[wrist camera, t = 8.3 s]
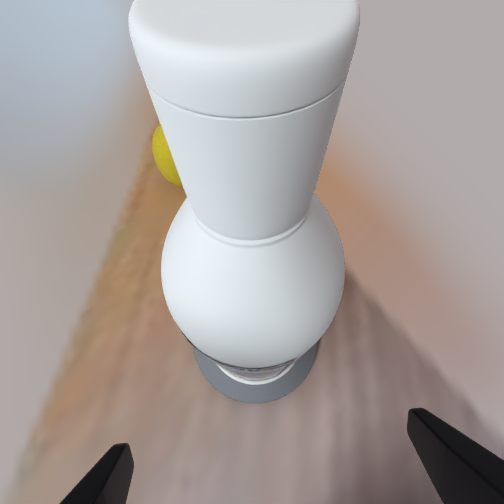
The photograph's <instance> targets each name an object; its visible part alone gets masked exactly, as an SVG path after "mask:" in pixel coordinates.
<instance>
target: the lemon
mask: <svg viewBox="0 0 504 504" xmlns="http://www.w3.org/2000/svg"><path fill="white" fill-rule="evenodd" d="M152 143H153V155H154V159H155V161H156V164H157V166H158V168H159V170H160V172H161V173H162V175H163V176H164V177H165V178H166V179H167V180H168V181H169V182H171V183H173V184H174V185H177V186H180V187H183V185H182V182H181V180H180V177H179V174H178V171H177V169H176V166H175V163H174V160H173V157H172V155H171V152H170V149H169V146H168V143H167V141H166V138H165V135H164V132H163V129H162V127H161V124H160V125H159V126H158V127H157V129H156V130H155V133H154V136H153V141H152Z"/></svg>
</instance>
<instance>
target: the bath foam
mask: <svg viewBox="0 0 504 504" xmlns="http://www.w3.org/2000/svg"><path fill="white" fill-rule="evenodd" d="M359 25H360V7H359V4H358V1H357V0H134V2H133V3H132V6H131V9H130V13H129V30H130V35H131V39H132V44H133V47H134V50H135V53H136V56H137V59H138V62H139V65H140V68H141V71H142V73H143V76H144V79H145V82H146V85H147V87H148V90H149V93H150V96H151V99H152V101H153V104H154V107H155V110H156V113H157V116H158V118H159V121H160V124H161V127H162V129H163V132H164V135H165V138H166V141H167V143H168V146H169V149H170V152H171V155H172V157H173V160H174V163H175V166H176V169H177V171H178V174H179V177H180V180H181V182H182V185H183V188H184V190H185V193H186V195H187V198H186V199H185V201H184V203H183V204H182V206H181V207H180V209H179V211H178V213H177V214H176V216H175V218H174V220H173V222H172V224H171V227H170V229H169V231H168V234H167V237H166V240H165V244H164V248H163V253H162V264H161V277H162V285H163V291H164V295H165V299H166V302H167V305H168V308H169V310H170V312H171V314H172V316H173V318H174V320H175V322H176V323H177V325H178V327H179V328H180V330H181V331H182V333H183V334H184V336H185V337H186V338H187V340H188V341H189V342H190V343H191V344H192V345H193V346H194V347H195V348H196V349H197V350H199V351H200V352H201V353H203V354H204V355H205V356H207V357H208V358H209V359H211V360H212V361H213V362H215V363H216V364H217V365H219V366H220V367H221V368H222V369H224V370H225V371H226V372H228V373H229V374H231V375H233V376H234V377H236V378H239V379H241V380H244V381H249V382H262V381H267V380H270V379H272V378H275V377H277V376H279V375H280V374H281V373H283V372H284V371H285V370H286V369H287V368H289V367H290V366H291V365H292V364H293V363H294V362H295V361H296V360H298V359H299V358H300V357H301V356H302V355H303V354H304V353H306V352H307V351H308V350H309V349H310V348H311V347H312V346H313V345H314V344H315V343H316V342H317V341H318V340H319V339H320V338H321V337H322V335H323V334H324V333H325V332H326V330H327V329H328V327H329V326H330V324H331V322H332V320H333V319H334V318H335V315H336V312H337V310H338V307H339V304H340V301H341V297H342V293H343V288H344V280H345V261H344V253H343V247H342V244H341V240H340V238H339V235H338V232H337V229H336V227H335V225H334V223H333V221H332V219H331V217H330V215H329V214H328V212H327V210H326V209H325V207H324V206H323V204H322V203H321V202H320V200H319V199H318V197H317V196H316V195H315V194H314V190H315V187H316V183H317V180H318V177H319V174H320V170H321V167H322V163H323V160H324V155H325V152H326V149H327V145H328V142H329V138H330V135H331V131H332V127H333V123H334V120H335V117H336V113H337V110H338V106H339V102H340V99H341V95H342V92H343V88H344V85H345V81H346V78H347V74H348V70H349V67H350V63H351V60H352V56H353V53H354V49H355V45H356V41H357V36H358V31H359Z"/></svg>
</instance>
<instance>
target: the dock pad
mask: <svg viewBox="0 0 504 504" xmlns="http://www.w3.org/2000/svg"><path fill="white" fill-rule="evenodd" d="M317 344H318V341H317V342H316V343H315V344H314V345H313V346H312V347H311V348H310V349H309V350H308V351H307V352H306V353H304V354H303V355H302V356H301V357H300V358H299V359H298V360H296V361H295V362H294V363H293V364H292V365H291V366H290V367H289V368H287V369H286V370H285V371H284V372H283V373H281V374H280V375H279V376H277V377H275V378H272V379H270V380H267V381H262V382H249V381H244V380H241V379H239V378H236V377H234V376H233V375H231V374H229V373H228V372H226V371H225V370H224V369H222V368H221V367H220V366H219V365H217V364H216V363H215V362H213V361H212V360H211V359H209V358H208V357H207V356H205V355H204V354H203V353H201V352H200V351H199V350H197V349H196V348H195V347H194V346H193V347H194V353H195V357H196V361H197V363H198V365H199V368H200V370H201V371H202V373H203V375H204V376H205V378H206V379H207V380H208V381H209V383H210V384H211V385H212V386H213V387H214V388H215V389H216V390H218V391H219V392H221V393H222V394H224V395H225V396H227V397H229V398H231V399H234V400H237V401H240V402H245V403H257V404H260V403H267V402H271V401H274V400H278V399H280V398H282V397H284V396H286V395H287V394H289V393H290V392H292V391H293V390H294V389H295V388H297V387H298V386H299V385H300V384H301V383H302V381H303V380H304V379H305V378H306V376H307V374H308V373H309V371H310V369H311V367H312V365H313V363H314V359H315V356H316V352H317Z"/></svg>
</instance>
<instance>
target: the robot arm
mask: <svg viewBox="0 0 504 504" xmlns="http://www.w3.org/2000/svg"><path fill="white" fill-rule="evenodd" d="M407 432H408V435H409V437H410V439H411V441H412V443H413V445H414V447H415V449H416V451H417V453H418V455H419V457H420V459H421V461H422V463H423V465H424V467H425V469H426V471H427V473H428V475H429V477H430V479H431V481H432V483H433V485H434V487H435V489H436V491H437V493H438V494H439V496H440V498H441V500H442V501H443V503H444V504H504V460H502V459H501V458H499V457H498V456H496V455H495V454H493V453H492V452H490V451H489V450H487V449H486V448H484V447H482V446H481V445H479V444H478V443H476V442H475V441H473V440H472V439H470V438H469V437H467V436H466V435H464V434H463V433H461V432H459V431H458V430H456V429H455V428H453V427H452V426H450V425H449V424H447V423H446V422H444V421H443V420H441V419H440V418H438V417H436V416H435V415H433V414H432V413H430V412H429V411H427V410H426V409H424V408H413V409H410V410H409V412H408V422H407ZM133 469H134V461H133V457H132V454H131V450H130V446H129V444H128V443H120V444H115V445H113V446H112V447H111V448H110V449H109V450H108V451H107V452H106V454H105V455H104V456H103V457H102V458H101V459H100V460H99V461H98V462H97V463H96V464H95V466H94V467H93V468H92V469H91V470H90V471H89V472H88V473H87V474H86V475H85V476H84V477H83V479H82V480H81V481H80V482H79V483H78V484H77V485H76V486H75V487H74V488H73V489H72V491H71V492H70V493H69V494H68V495H67V496H66V497H65V498H64V499H63V500H62V501H61V503H60V504H126V500H127V496H128V491H129V487H130V483H131V479H132V474H133Z"/></svg>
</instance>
